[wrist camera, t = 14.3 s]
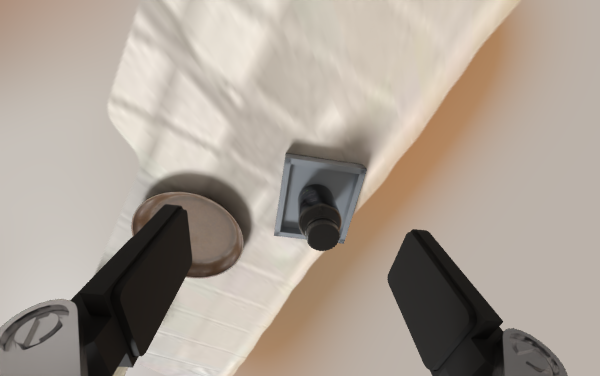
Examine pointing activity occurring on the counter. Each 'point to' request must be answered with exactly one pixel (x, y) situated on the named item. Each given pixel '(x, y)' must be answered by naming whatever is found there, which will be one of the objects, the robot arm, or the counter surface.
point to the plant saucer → (200, 231)
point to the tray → (325, 172)
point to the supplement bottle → (319, 217)
